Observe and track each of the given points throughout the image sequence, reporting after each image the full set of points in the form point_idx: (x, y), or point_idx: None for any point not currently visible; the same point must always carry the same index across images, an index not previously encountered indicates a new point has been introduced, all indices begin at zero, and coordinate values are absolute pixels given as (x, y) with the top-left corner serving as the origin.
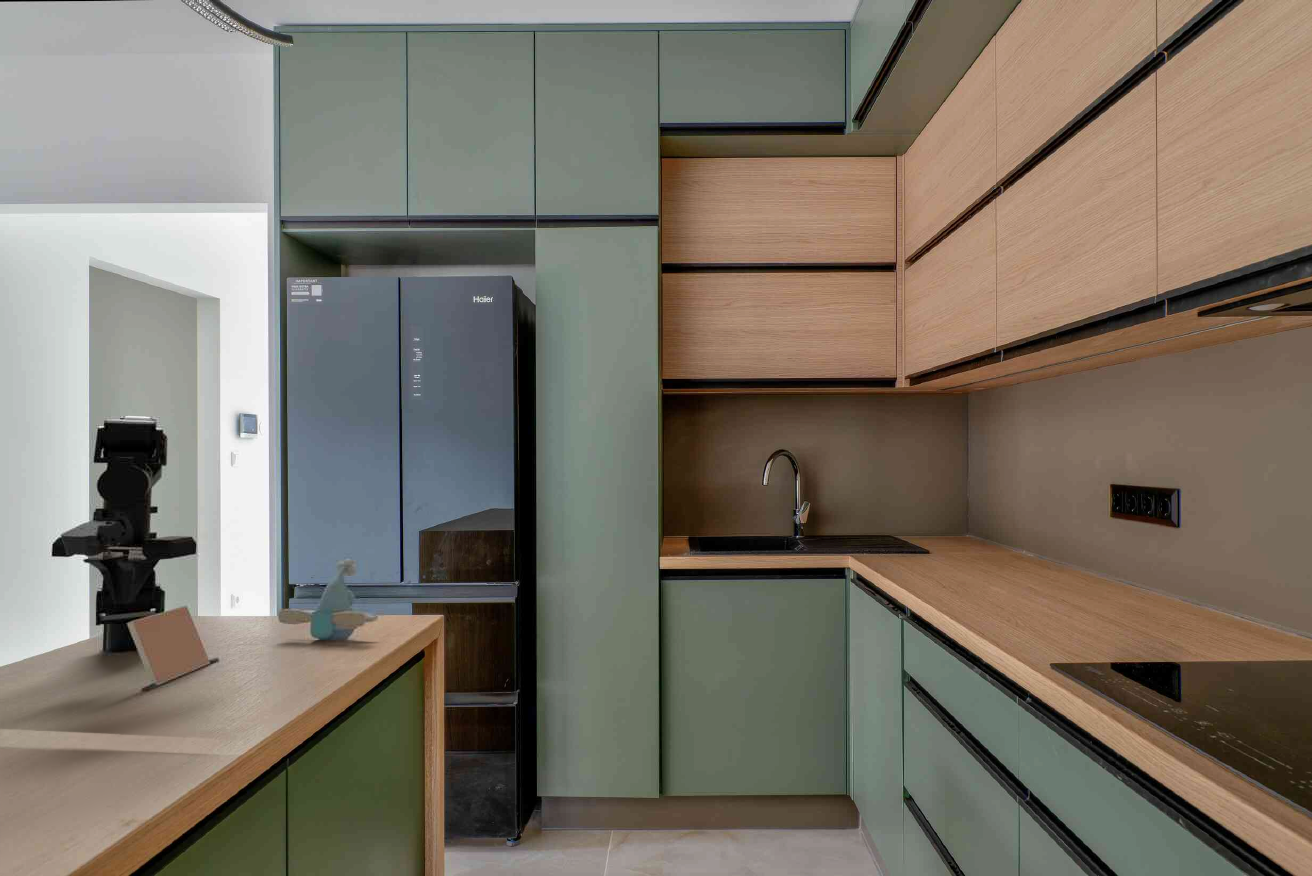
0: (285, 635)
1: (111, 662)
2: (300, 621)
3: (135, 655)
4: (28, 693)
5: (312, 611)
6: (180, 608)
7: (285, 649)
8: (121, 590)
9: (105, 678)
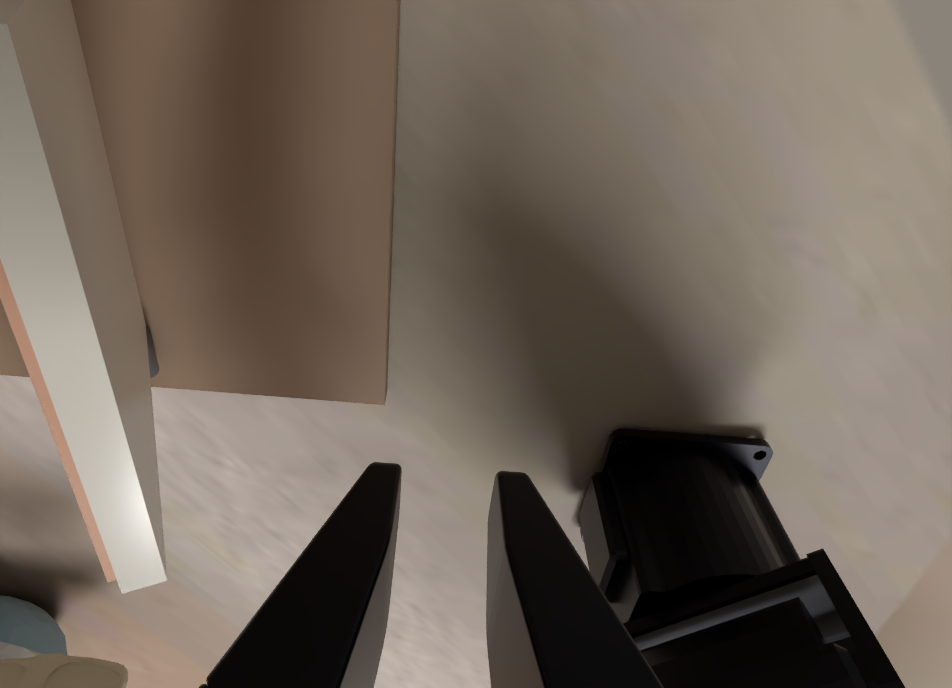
0: None
1: (684, 427)
2: (17, 665)
3: None
4: (812, 22)
5: None
6: (94, 539)
7: None
8: (498, 629)
9: (572, 245)
